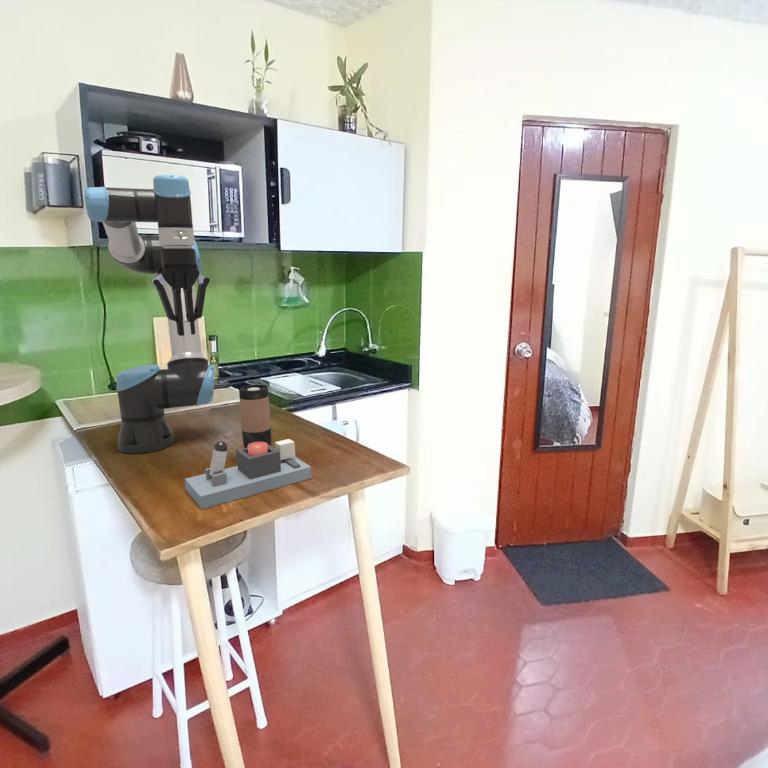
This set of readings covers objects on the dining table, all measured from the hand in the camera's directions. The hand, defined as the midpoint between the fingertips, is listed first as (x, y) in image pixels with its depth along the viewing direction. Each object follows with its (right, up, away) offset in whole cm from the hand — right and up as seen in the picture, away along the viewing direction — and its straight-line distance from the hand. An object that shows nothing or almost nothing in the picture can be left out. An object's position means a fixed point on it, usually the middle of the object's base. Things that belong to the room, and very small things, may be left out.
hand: (187, 348), depth 125 cm
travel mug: (+13, -29, +17) cm, 36 cm away
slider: (+22, -27, +7) cm, 36 cm away
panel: (+15, -33, 0) cm, 36 cm away
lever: (+8, -30, -5) cm, 31 cm away
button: (+17, -29, +1) cm, 33 cm away
